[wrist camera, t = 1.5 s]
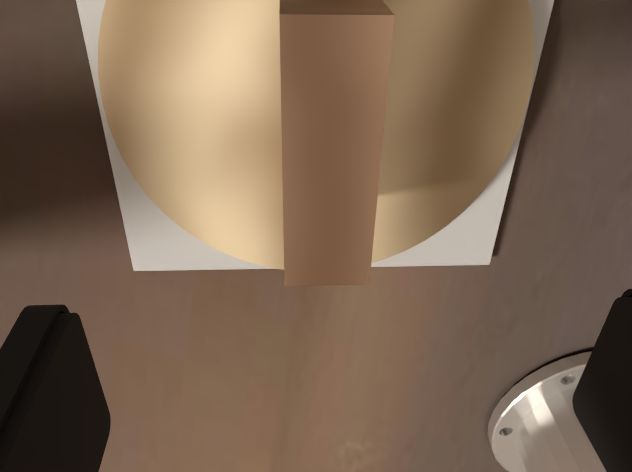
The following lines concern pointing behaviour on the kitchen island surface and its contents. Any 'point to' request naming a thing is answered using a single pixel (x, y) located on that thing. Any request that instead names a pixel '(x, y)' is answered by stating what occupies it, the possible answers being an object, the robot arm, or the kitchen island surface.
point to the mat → (192, 254)
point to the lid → (315, 120)
